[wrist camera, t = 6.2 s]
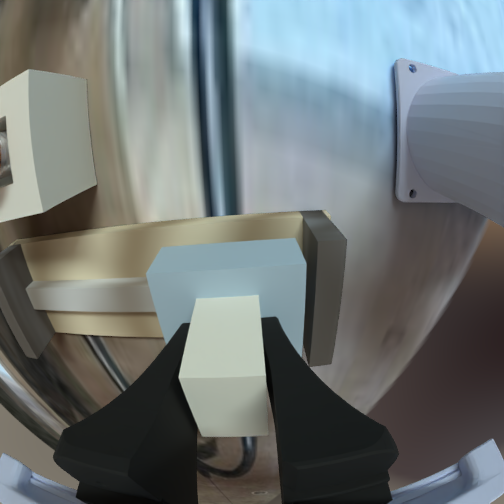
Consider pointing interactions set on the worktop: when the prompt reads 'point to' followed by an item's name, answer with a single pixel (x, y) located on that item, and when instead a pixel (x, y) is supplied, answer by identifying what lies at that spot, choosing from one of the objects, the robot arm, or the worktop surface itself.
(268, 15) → the worktop surface
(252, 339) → the carriage
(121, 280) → the rail
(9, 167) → the button
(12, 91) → the white button housing
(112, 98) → the worktop surface
